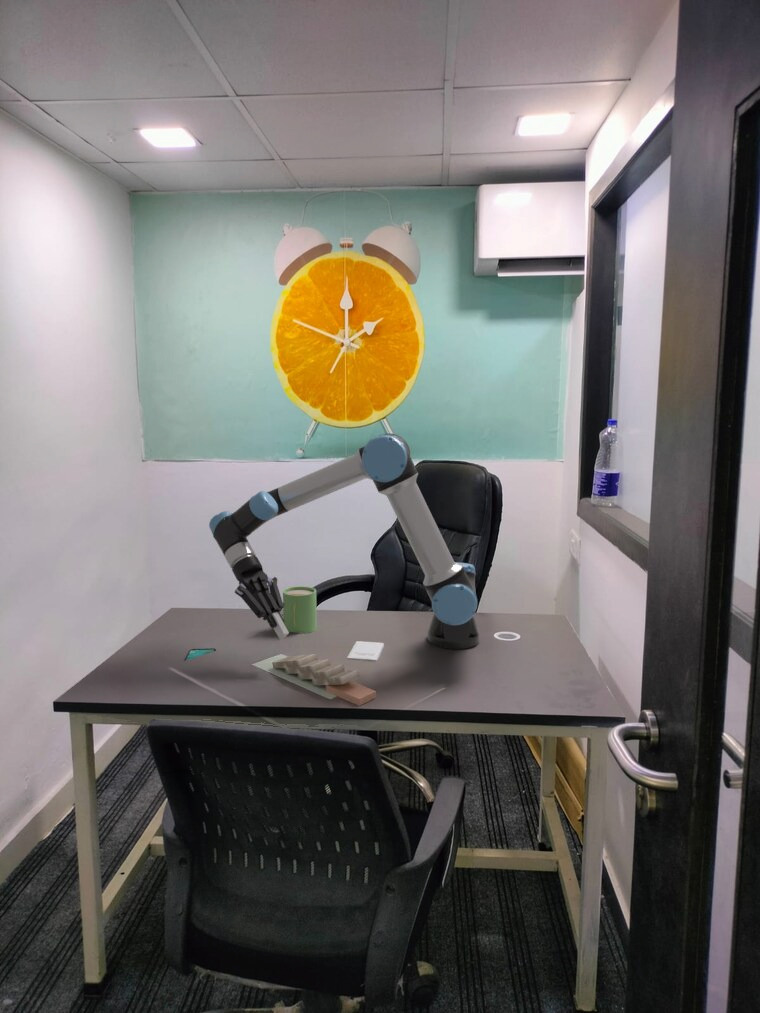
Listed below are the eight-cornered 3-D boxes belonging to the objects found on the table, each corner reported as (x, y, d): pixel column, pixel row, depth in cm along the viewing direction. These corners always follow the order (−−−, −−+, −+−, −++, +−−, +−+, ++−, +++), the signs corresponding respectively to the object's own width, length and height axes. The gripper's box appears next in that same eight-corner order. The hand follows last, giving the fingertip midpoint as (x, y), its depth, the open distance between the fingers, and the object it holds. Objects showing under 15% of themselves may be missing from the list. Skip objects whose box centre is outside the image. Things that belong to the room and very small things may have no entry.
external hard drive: (384, 648, 184) (376, 665, 172) (355, 646, 185) (346, 662, 173) (384, 642, 184) (376, 659, 171) (356, 640, 185) (346, 657, 173)
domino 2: (284, 667, 163) (312, 665, 155) (301, 661, 167) (329, 659, 159) (286, 674, 163) (313, 672, 155) (302, 667, 167) (330, 665, 159)
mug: (287, 622, 204) (287, 585, 202) (319, 624, 202) (319, 587, 200) (275, 636, 191) (275, 597, 189) (310, 638, 190) (309, 598, 188)
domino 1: (272, 662, 166) (298, 660, 159) (288, 656, 170) (315, 654, 163) (273, 668, 166) (299, 666, 158) (290, 662, 170) (316, 660, 163)
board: (251, 666, 169) (251, 664, 169) (281, 655, 176) (281, 653, 176) (330, 701, 149) (330, 699, 149) (360, 688, 156) (360, 685, 156)
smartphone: (178, 670, 165) (190, 648, 180) (178, 673, 165) (190, 651, 180) (206, 669, 166) (216, 648, 180) (207, 672, 166) (216, 650, 181)
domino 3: (297, 673, 159) (326, 671, 152) (314, 666, 163) (343, 664, 156) (299, 679, 159) (327, 678, 152) (316, 673, 163) (344, 671, 156)
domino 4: (311, 679, 156) (341, 677, 148) (328, 672, 160) (358, 670, 153) (313, 685, 156) (343, 684, 148) (329, 678, 160) (360, 676, 152)
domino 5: (325, 684, 153) (359, 699, 145) (342, 677, 157) (376, 691, 149) (325, 691, 153) (359, 705, 145) (342, 684, 157) (375, 697, 150)
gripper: (257, 566, 181) (297, 637, 173) (218, 574, 172) (257, 650, 163) (269, 550, 177) (310, 622, 169) (229, 558, 168) (270, 635, 159)
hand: (284, 636), depth 166 cm, fingers closed
